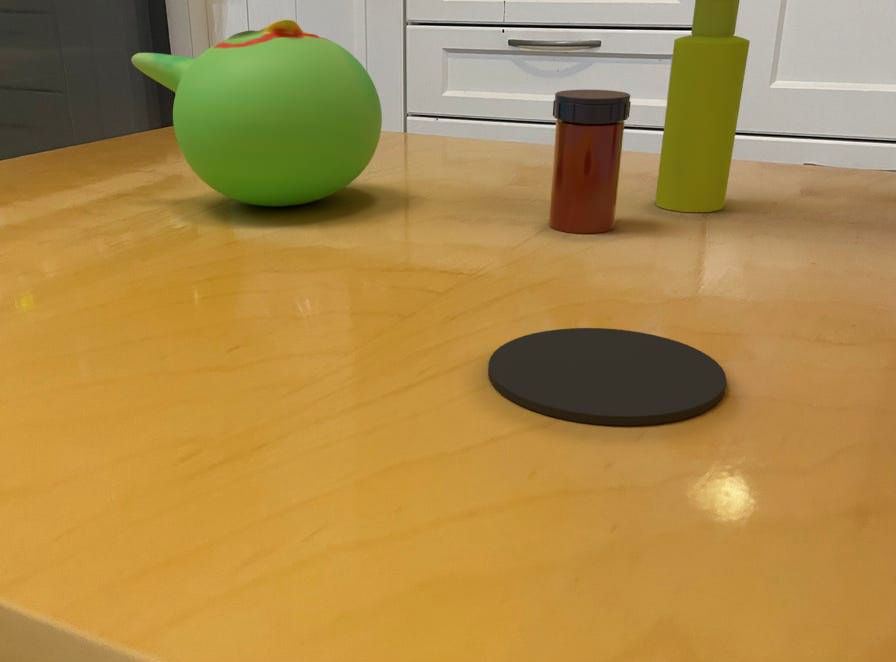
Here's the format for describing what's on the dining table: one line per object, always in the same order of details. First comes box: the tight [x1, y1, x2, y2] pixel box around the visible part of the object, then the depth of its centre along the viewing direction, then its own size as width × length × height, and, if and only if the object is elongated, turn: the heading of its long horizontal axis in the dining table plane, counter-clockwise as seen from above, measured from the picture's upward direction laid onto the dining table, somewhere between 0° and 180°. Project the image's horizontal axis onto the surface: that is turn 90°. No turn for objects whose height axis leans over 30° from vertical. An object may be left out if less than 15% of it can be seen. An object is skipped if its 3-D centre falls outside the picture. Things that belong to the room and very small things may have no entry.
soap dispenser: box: [654, 0, 751, 213], centre depth 78 cm, size 6×7×20 cm
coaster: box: [487, 327, 727, 427], centre depth 48 cm, size 12×12×1 cm
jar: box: [548, 119, 625, 234], centre depth 74 cm, size 5×5×9 cm
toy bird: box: [131, 18, 383, 207], centre depth 80 cm, size 18×17×15 cm
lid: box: [552, 89, 632, 123], centre depth 72 cm, size 6×6×2 cm
